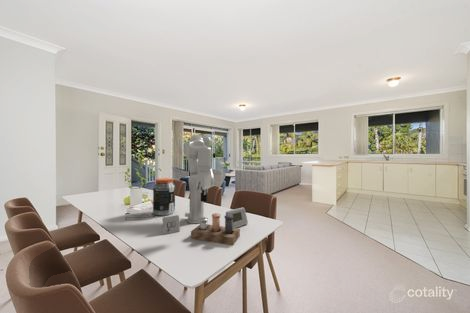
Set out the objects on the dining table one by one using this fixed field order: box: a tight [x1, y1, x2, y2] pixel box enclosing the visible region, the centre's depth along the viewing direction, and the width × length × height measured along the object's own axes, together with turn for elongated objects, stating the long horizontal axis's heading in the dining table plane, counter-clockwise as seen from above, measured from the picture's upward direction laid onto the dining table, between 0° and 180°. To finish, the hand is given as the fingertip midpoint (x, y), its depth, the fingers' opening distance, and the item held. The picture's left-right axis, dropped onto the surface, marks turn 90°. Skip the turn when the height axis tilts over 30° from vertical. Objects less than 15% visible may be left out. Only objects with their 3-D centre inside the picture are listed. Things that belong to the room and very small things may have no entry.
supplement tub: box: [152, 177, 176, 216], centre depth 148 cm, size 16×16×26 cm
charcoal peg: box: [224, 214, 233, 234], centre depth 104 cm, size 5×5×9 cm
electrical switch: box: [162, 214, 181, 235], centre depth 114 cm, size 9×5×9 cm, turn 122°
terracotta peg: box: [211, 212, 221, 232], centre depth 107 cm, size 5×5×9 cm
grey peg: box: [199, 217, 209, 230], centre depth 109 cm, size 5×5×9 cm
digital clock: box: [225, 207, 249, 229], centre depth 124 cm, size 16×9×11 cm, turn 122°
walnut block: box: [190, 223, 241, 247], centre depth 107 cm, size 24×12×4 cm, turn 72°
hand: (203, 201), depth 109 cm, fingers closed
